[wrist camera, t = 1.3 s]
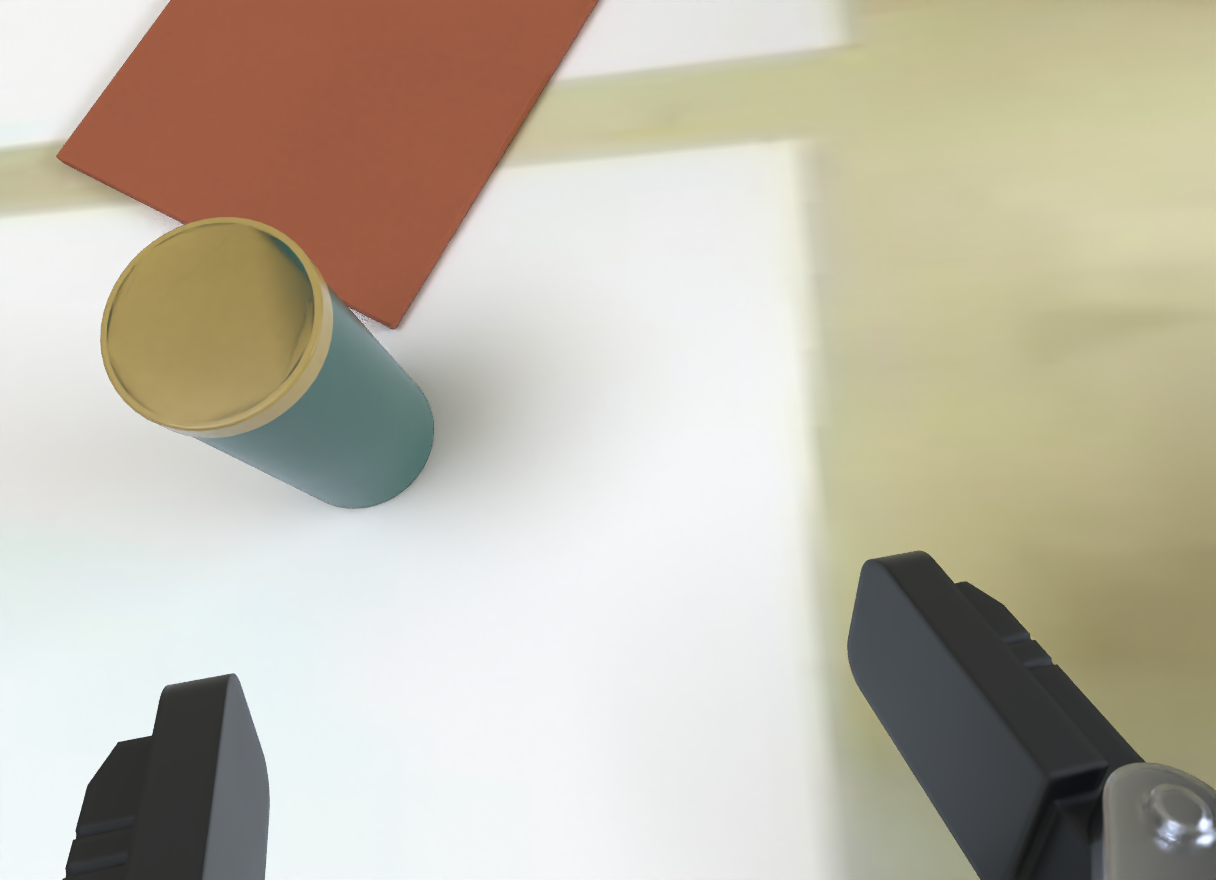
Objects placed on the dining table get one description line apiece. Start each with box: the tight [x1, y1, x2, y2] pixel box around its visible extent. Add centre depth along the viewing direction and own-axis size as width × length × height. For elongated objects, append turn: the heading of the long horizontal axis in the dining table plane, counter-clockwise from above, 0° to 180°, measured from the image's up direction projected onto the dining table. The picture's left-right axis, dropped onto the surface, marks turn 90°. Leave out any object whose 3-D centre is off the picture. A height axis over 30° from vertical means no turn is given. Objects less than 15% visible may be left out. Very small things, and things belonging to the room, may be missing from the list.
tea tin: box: [100, 217, 434, 508], centre depth 27 cm, size 6×6×11 cm
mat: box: [56, 0, 598, 329], centre depth 36 cm, size 18×16×1 cm
